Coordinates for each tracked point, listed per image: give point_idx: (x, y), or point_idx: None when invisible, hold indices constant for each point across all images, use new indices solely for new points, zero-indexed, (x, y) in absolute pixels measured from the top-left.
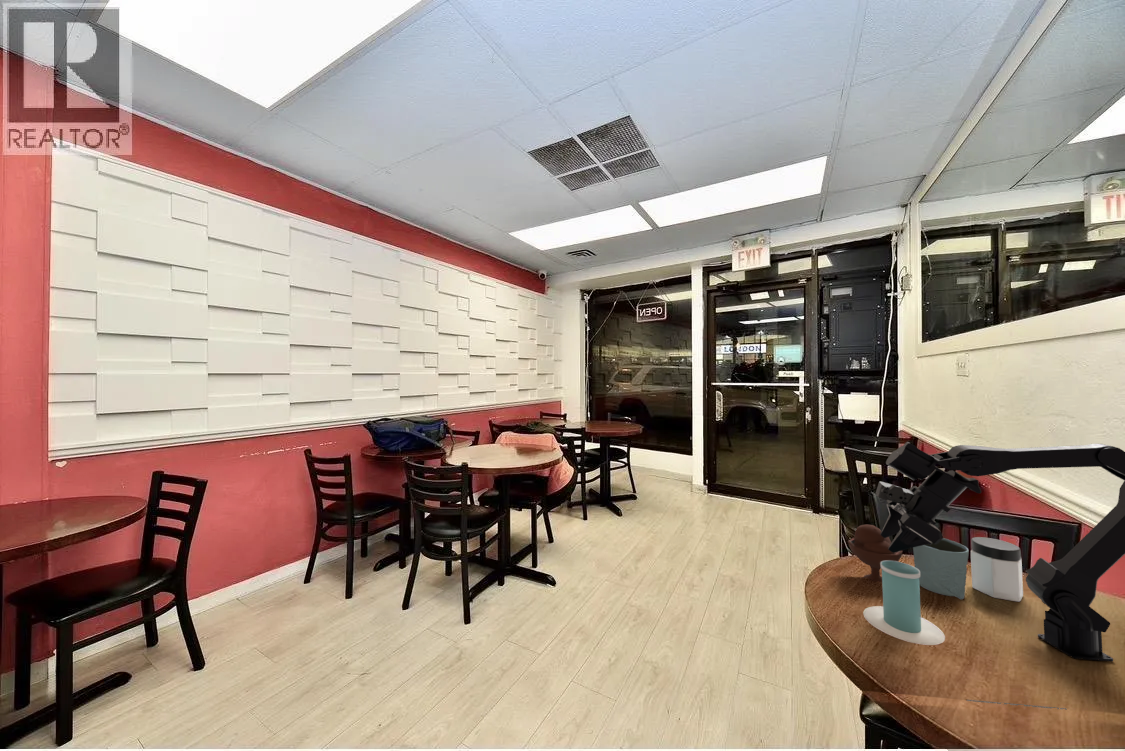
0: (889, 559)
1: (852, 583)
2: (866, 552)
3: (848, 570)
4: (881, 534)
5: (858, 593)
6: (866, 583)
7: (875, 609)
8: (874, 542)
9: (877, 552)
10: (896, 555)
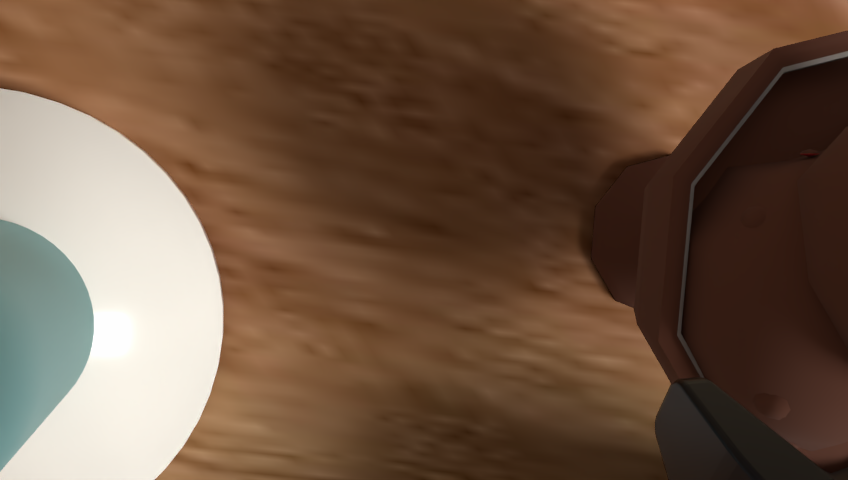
0: (669, 374)
1: (558, 78)
2: (671, 173)
3: None
4: (680, 395)
5: (405, 101)
6: (608, 173)
7: (115, 178)
8: (809, 272)
9: (694, 281)
10: None
